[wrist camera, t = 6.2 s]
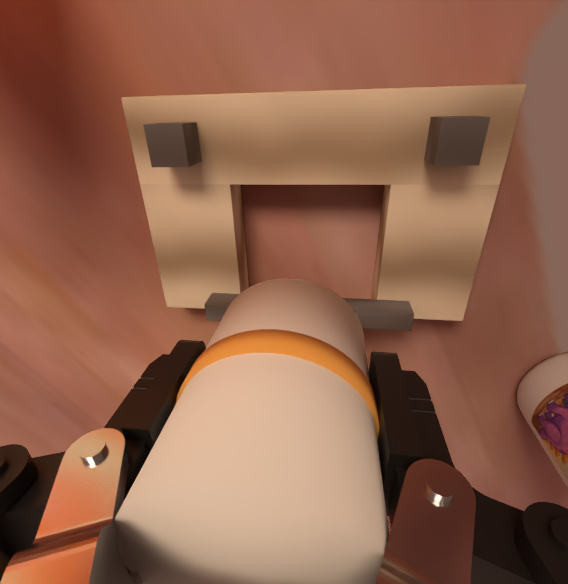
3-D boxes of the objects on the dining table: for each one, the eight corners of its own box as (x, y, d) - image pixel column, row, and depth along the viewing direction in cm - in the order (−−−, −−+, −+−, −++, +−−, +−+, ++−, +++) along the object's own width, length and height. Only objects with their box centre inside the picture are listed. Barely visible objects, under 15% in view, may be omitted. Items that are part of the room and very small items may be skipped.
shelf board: (143, 98, 20) (98, 96, 16) (504, 86, 18) (550, 81, 14) (180, 290, 26) (154, 322, 23) (451, 302, 24) (473, 339, 20)
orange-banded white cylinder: (210, 272, 11) (66, 461, 5) (374, 278, 11) (428, 502, 5) (226, 391, 14) (142, 611, 8) (360, 402, 13) (382, 653, 7)
